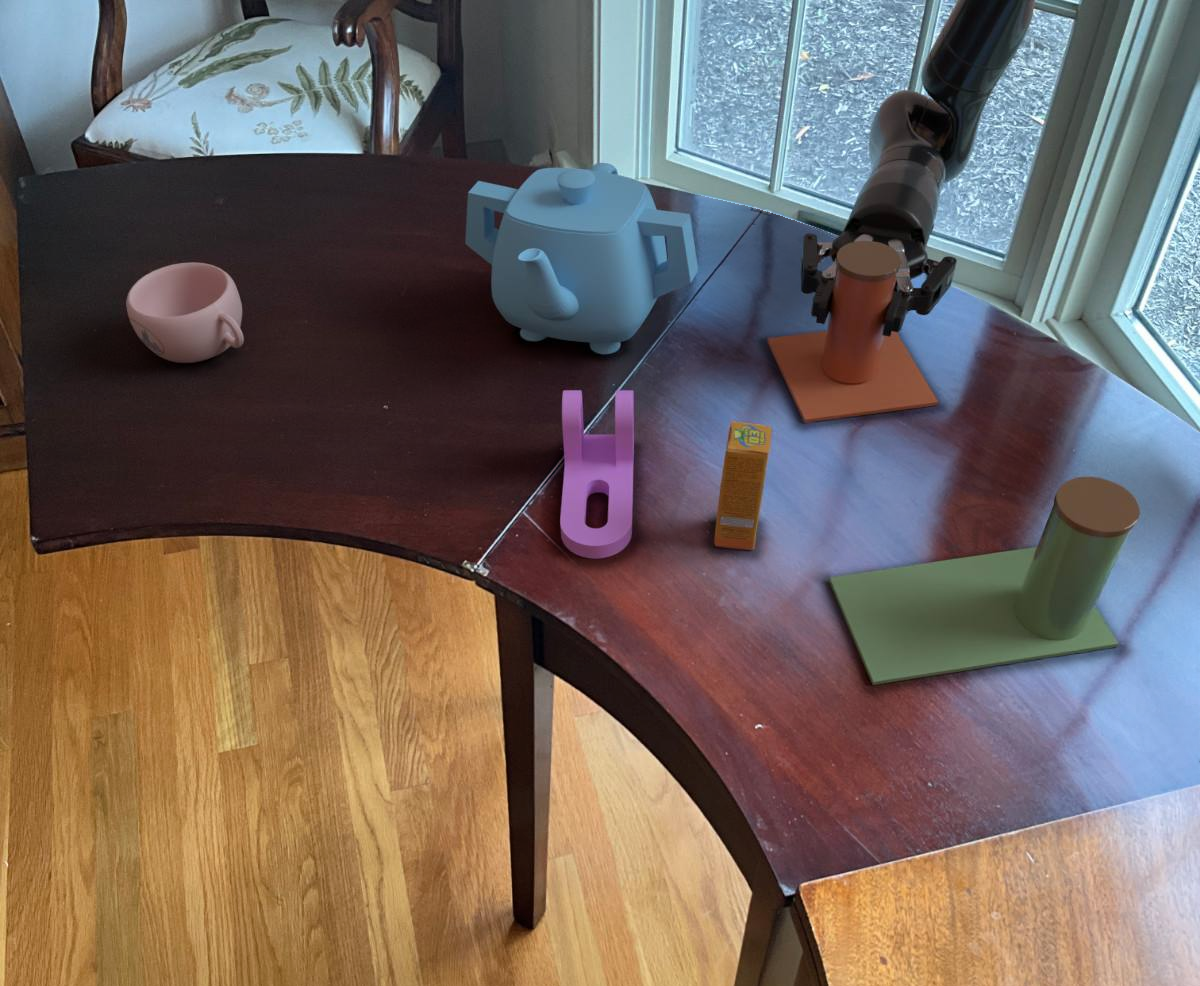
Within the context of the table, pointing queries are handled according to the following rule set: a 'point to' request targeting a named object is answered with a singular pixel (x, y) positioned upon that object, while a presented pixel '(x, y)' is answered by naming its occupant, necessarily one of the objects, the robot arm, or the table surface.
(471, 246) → the teapot
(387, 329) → the table surface
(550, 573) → the table surface
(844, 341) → the terracotta canister
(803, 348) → the terracotta mat
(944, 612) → the sage mat
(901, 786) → the table surface
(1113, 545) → the sage canister
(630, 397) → the bracket
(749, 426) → the supplement box
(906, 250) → the robot arm
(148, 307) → the mug
